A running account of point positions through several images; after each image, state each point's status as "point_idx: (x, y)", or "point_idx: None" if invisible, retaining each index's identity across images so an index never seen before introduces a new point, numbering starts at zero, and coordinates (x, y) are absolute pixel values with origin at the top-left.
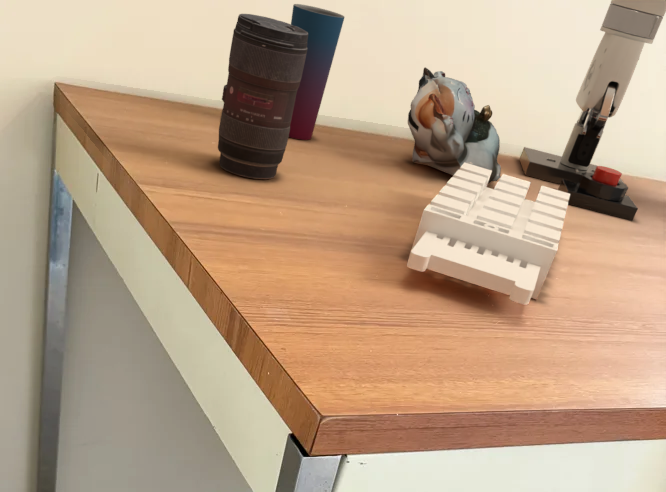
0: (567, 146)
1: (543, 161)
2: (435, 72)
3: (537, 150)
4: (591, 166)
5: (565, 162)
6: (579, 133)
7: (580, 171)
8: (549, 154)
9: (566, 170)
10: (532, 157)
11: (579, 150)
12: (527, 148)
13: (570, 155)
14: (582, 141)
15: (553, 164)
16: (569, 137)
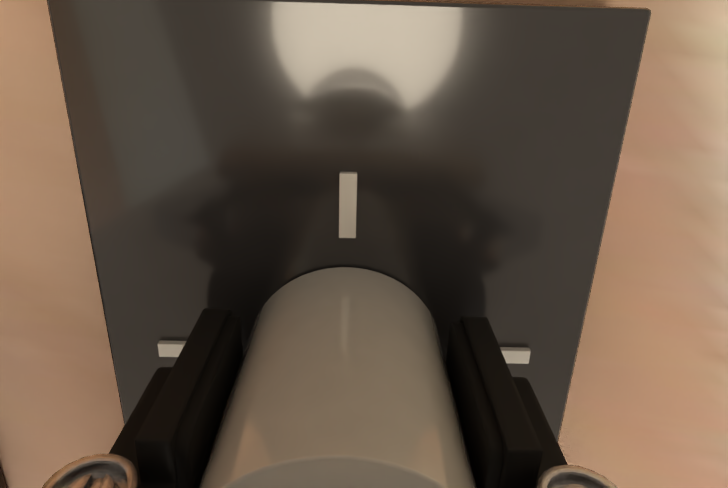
0: (311, 327)
1: (208, 127)
2: None
3: (616, 130)
4: None
5: (276, 294)
6: (217, 453)
7: None
8: (558, 219)
9: (109, 275)
10: (253, 39)
11: (143, 397)
12: (606, 37)
13: (194, 326)
14: (118, 444)
15: (197, 201)
16: (367, 364)
